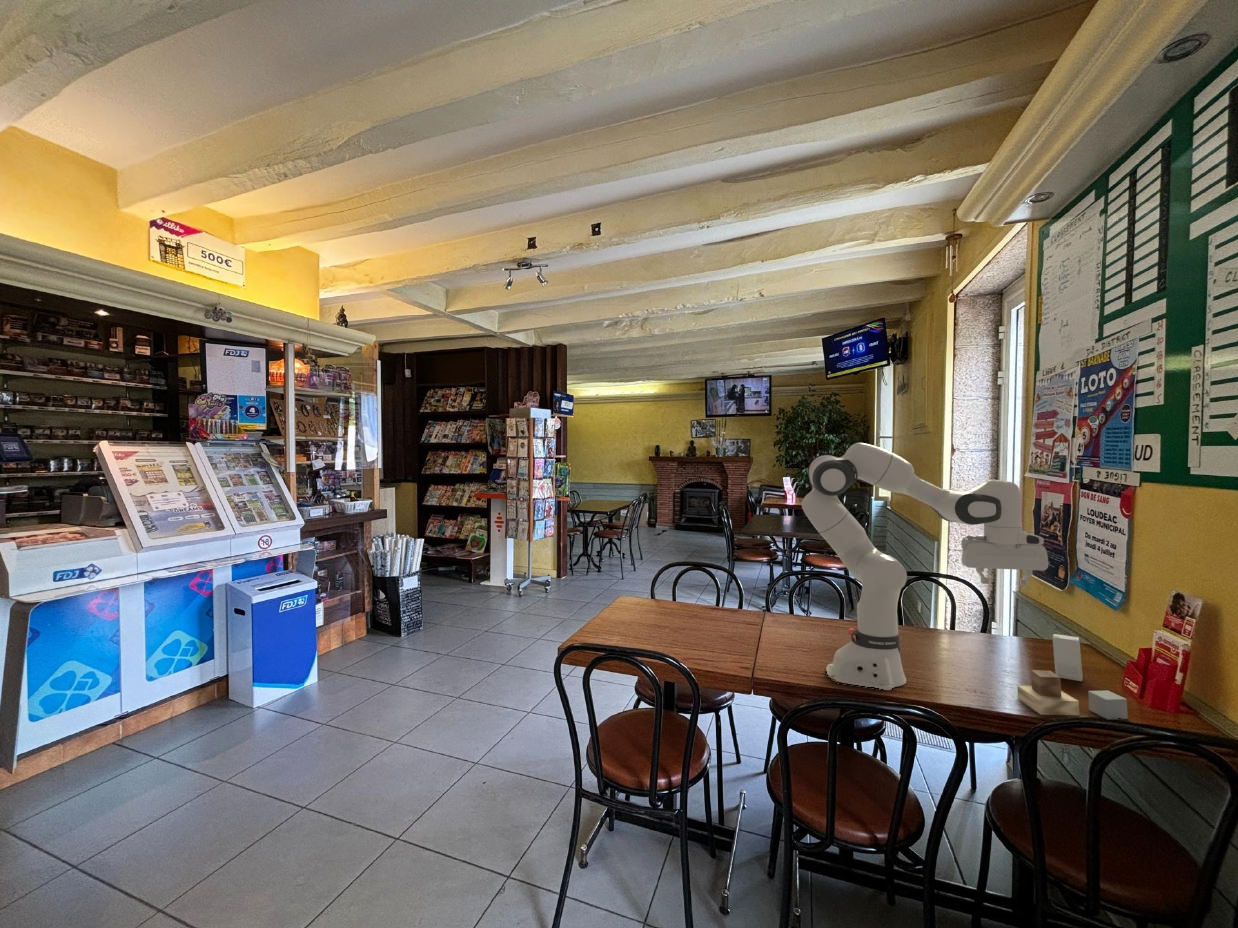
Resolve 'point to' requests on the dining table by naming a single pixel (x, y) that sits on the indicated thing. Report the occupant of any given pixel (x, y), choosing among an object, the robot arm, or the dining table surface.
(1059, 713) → the maple pedestal
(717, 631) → the dining table surface
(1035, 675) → the walnut block
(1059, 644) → the skincare box
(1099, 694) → the slate cube
